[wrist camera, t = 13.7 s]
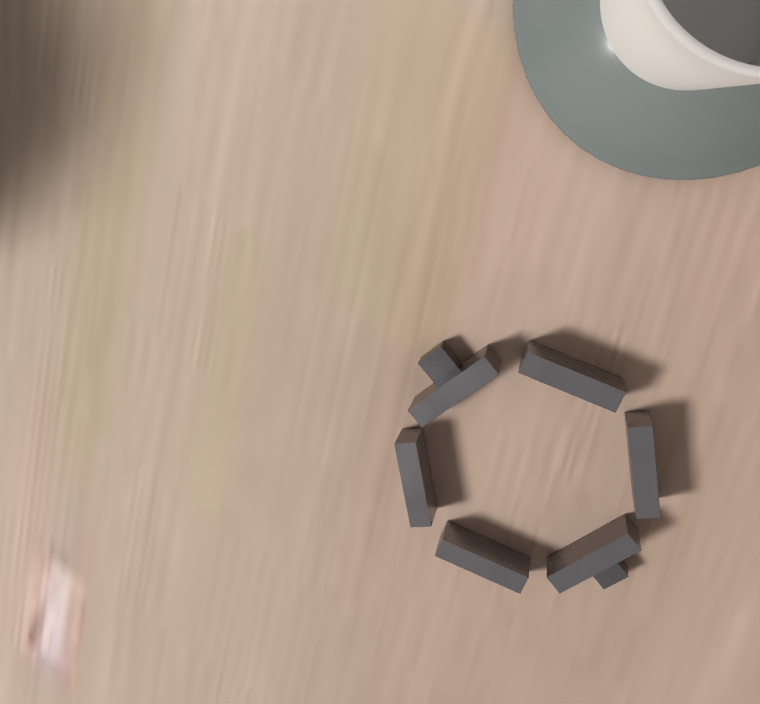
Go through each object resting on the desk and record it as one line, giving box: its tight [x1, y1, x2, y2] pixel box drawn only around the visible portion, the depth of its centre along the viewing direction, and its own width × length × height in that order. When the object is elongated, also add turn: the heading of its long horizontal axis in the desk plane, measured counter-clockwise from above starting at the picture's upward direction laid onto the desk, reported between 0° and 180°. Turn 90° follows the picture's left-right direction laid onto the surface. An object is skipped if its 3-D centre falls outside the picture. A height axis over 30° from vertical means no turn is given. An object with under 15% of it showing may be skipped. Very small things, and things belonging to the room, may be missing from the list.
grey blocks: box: [395, 340, 661, 593], centre depth 40 cm, size 17×14×2 cm
